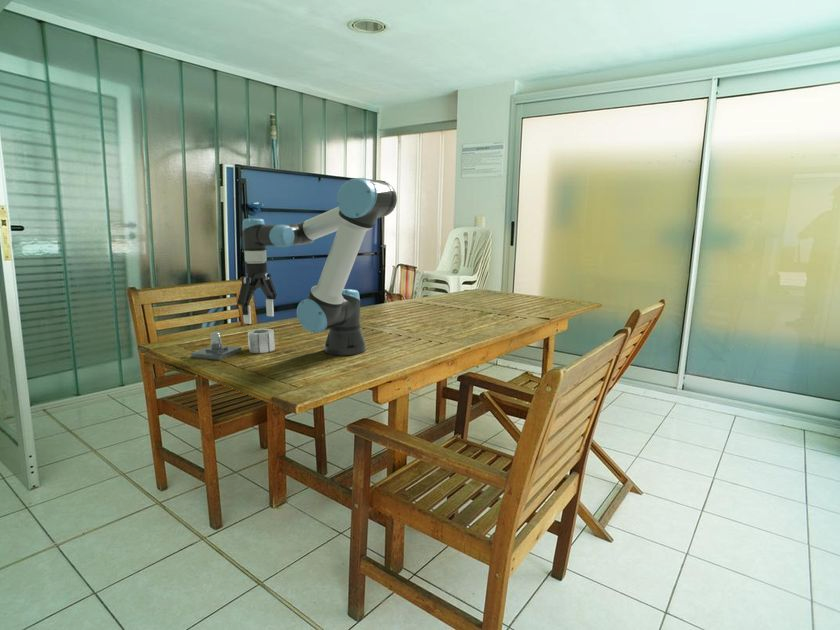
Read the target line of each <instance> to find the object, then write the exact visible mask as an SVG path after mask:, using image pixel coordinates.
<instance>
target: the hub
mask: <svg viewBox="0 0 840 630" xmlns="http://www.w3.org/2000/svg"><path fill="white" fill-rule="evenodd" d="M275 340H276V339H275V331H274V329H272V328H259V329H258V328H255V329H251V330H249V331H247V342H248V351H249V353H252V354H253V353H254V354H264V353H270V352H273V351H275V350H276V341H275Z"/></svg>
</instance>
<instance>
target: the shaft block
mask: <svg viewBox="0 0 840 630" xmlns="http://www.w3.org/2000/svg"><path fill="white" fill-rule="evenodd" d="M209 335H210V346H207V347H204V348H202V349H200V350H197V351H193V352H191V353H190V354H191V355H190V356H191V358H193V359H194V358H196V359H206V360H213V361H214V360H215V361H221V360H223V359H226V358H228V357H230V356H233V355H236V354H238V353H241V352H243V350H242V346H234V345H233V346H232V345H222V338H221V337H222V335H221V331H212V332H210V333H209Z"/></svg>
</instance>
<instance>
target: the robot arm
mask: <svg viewBox="0 0 840 630" xmlns="http://www.w3.org/2000/svg"><path fill="white" fill-rule="evenodd" d="M336 201H337V203H338V204H337V205H338V206H336V207H334V208H332V209H329V210H328V211H325V212H323V213H320V214H317V215H315V216H314V217H311V218H308V219H306V220H304V221H302V222H299V223H296V224H265V219H263V218H244V219H242V240H243V251H244V261H245V262H246V263H245V264H244V268H245V269H244V271H245V274H247V277H246V276H244V277H242V278H241V287H240V290H239V293H238V298H237V302H236V303H237V305H239V306H241V309H242V318H243V324H248V325H251V324H252V311H251V310H252V309H251V305H249V304H250V303H251V300H252V297H253V295H254V293H255V291H257V289H259V288H260V289H261V292H263V294H264V295H265V297H266V299H265V307H266V311H265V312H266V317H274V316H275V311H274V310H275V309H274V304H275V303H274V300H276V299H277V295H278V293H277V291H276V289H275V286H274V283H273V281H272V276H271V275H272V274H271V273H268V264H267V260H268V259H267V247H273V248H274V247H275V248H286V247H287V248H288V247H290V246H300V245H303V246H305V245H309V244H312V243H314V242H315V240H318V239H319V238H322V237H324V236H327V235H330V234H332V233H335V232H336V233H335V236H334V239H333V241H332V244H331V247H330V249H329V253H328V255H327V257H326V260H325V264H324V266H323V269H322V271H321V274H320V277H319V279H318V282H317V284H316V285H313V286H312V287H311V288H310V291H309V293H308V296H307V298H305V299H302V300H301V301H300V302H299V303H298V304H297V307H296V317H297V319H298V320H299V321H298V322H299V324H300V325H301V327H302V328H303V329H304V330H306V331H307V332H310V333H313V334H314V333H322V332H324V331H327V330H328V331H327V336H326V340H325V343H324V352H325V354H328V355H332V356H353V355H357V354H361V353H364V352H366V350H367V345H366V344H367V343H366V341H365V338H364V335H363V332H362V330H361V329H362V328H361V327H362V326H361V299H360V292H359V291H358V290H357V289H351V288H345V287H346V284H347V281H348V280H349V277H350V273H351V272H352V269H353V267H354V263H355V261H356V259H357V256H358V253H359V251H360V249H361V246H362V243H363V241H364V239H365V236H366V233H367V231H370V230H372V229H373V228H374V226H375V224H376V222H377V219H380V218H383V217H387V216H388V215H390V214H391V213H392V212H394V210H395V208H396V207H397V203H398V196H397V192H396V190H395V189H394V187H393V186H392V184H390V183H388V182H387V181H384V180H380V179H369V178H365V177H357V178H351V179H348V180H347V181H345V182H344V183H343V184H342V185H341V186H340V188H339V190H338V193H337V198H336Z"/></svg>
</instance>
